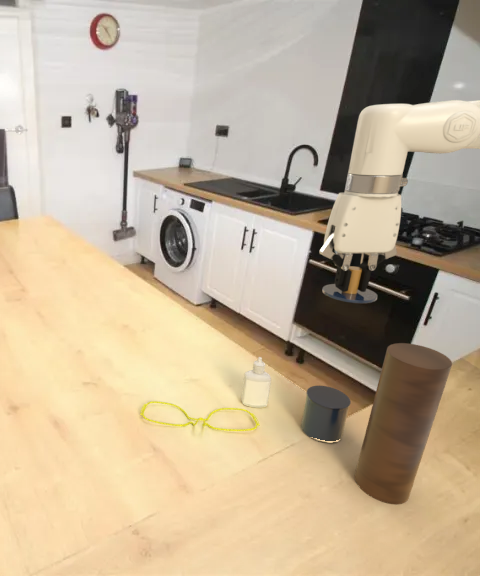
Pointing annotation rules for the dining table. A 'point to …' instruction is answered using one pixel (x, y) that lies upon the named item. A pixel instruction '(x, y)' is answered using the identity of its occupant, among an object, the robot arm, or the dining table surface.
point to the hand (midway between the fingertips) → (350, 288)
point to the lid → (351, 290)
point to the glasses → (200, 417)
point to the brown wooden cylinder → (401, 420)
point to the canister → (325, 413)
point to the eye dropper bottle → (256, 386)
